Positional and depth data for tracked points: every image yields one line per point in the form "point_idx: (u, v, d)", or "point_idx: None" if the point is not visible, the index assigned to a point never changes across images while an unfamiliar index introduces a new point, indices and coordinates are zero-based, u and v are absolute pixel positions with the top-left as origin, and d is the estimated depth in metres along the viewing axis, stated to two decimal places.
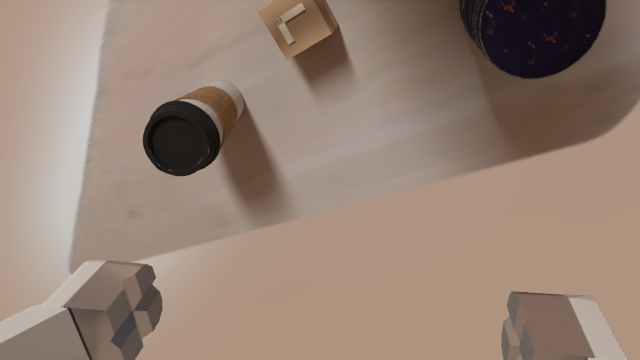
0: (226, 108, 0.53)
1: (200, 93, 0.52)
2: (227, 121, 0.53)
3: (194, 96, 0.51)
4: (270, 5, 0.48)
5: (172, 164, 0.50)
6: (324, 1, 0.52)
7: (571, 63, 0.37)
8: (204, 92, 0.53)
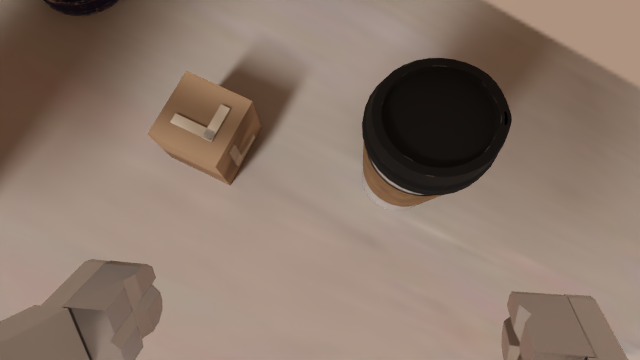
0: None
1: (369, 173, 0.31)
2: None
3: (370, 168, 0.30)
4: (198, 156, 0.34)
5: (486, 108, 0.26)
6: None
7: None
8: (368, 173, 0.32)
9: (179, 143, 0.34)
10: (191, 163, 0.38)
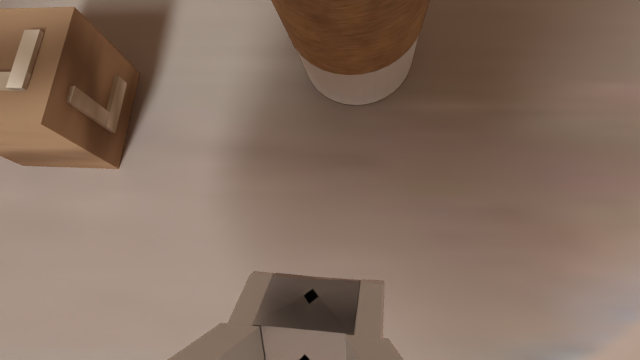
0: None
1: (285, 9, 0.17)
2: None
3: None
4: (9, 120, 0.19)
5: None
6: None
7: None
8: (287, 18, 0.17)
9: None
10: (40, 155, 0.23)
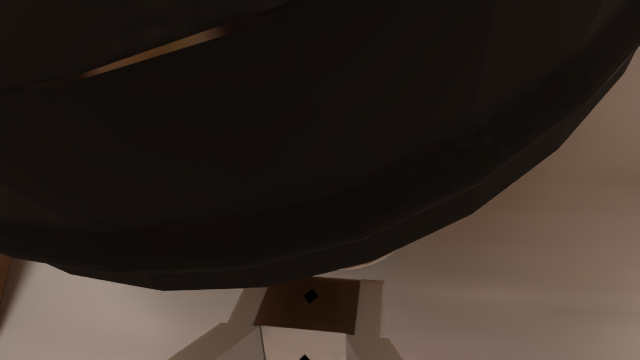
0: None
1: None
2: None
3: None
4: None
5: None
6: None
7: None
8: None
9: None
10: None
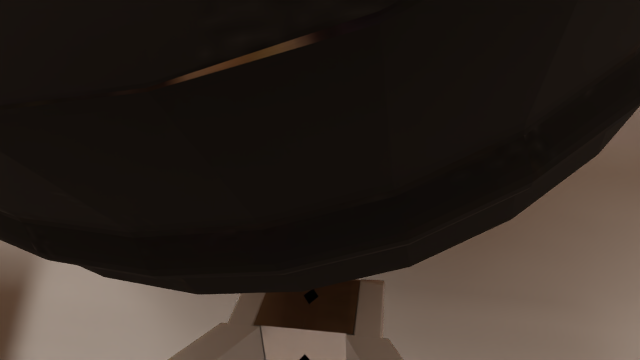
0: None
1: None
2: None
3: None
4: None
5: None
6: None
7: None
8: None
9: None
10: None
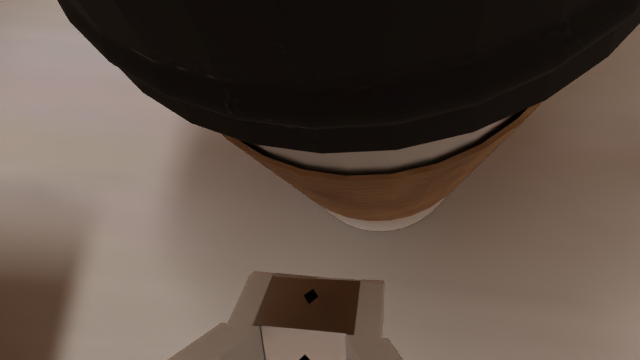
0: None
1: None
2: None
3: None
4: None
5: None
6: None
7: None
8: None
9: None
10: None
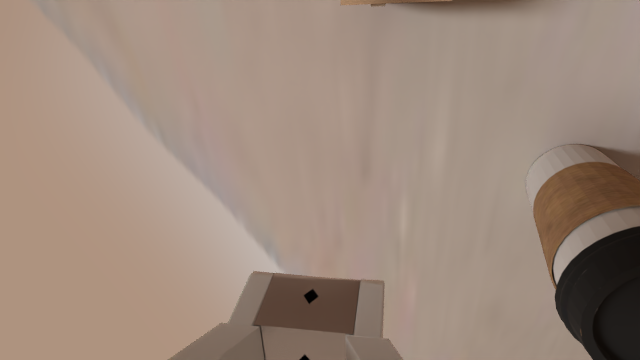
0: (622, 182, 0.25)
1: (564, 207, 0.26)
2: None
3: (571, 221, 0.24)
4: None
5: None
6: None
7: None
8: (563, 199, 0.26)
9: None
10: None
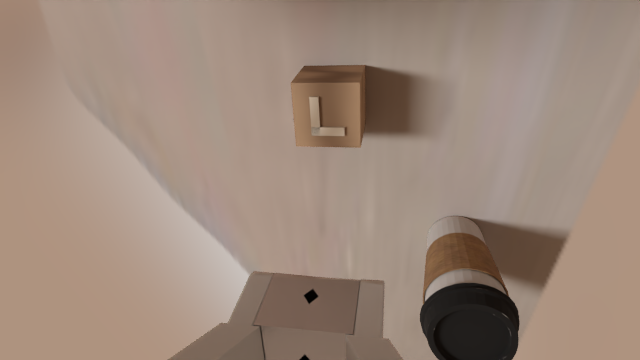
0: (466, 250, 0.42)
1: (433, 264, 0.43)
2: (482, 261, 0.41)
3: (433, 275, 0.41)
4: (296, 130, 0.40)
5: (489, 356, 0.38)
6: (331, 67, 0.42)
7: None
8: (434, 259, 0.43)
9: (298, 111, 0.39)
10: None
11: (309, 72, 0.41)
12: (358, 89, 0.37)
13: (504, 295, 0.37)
